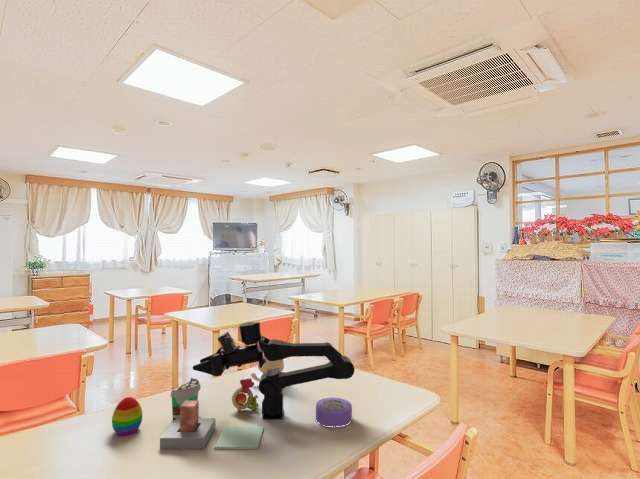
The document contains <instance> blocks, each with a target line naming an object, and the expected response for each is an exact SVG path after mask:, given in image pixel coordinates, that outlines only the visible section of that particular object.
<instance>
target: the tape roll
mask: <svg viewBox="0 0 640 479" xmlns="http://www.w3.org/2000/svg"><path fill="white" fill-rule="evenodd" d="M352 410H353V404H352V403H351V402H350V401H349V400H347V399H344V398H341V397H334V396H333V397H324V398H321V399H319V400H318V401H316V403H315V421H316V420H317V422H319V423H320V424H322V425H325V426H333V427H334V426H335V427H336V426H342V425H346V424H348V423H349V422H350V421H351V419H352V417H353V415H352V414H353V411H352ZM352 420H353V419H352ZM317 422H316V423H317ZM351 422H352V421H351ZM320 424H319V425H320Z"/></svg>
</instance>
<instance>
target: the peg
mask: <svg viewBox="0 0 640 479" xmlns="http://www.w3.org/2000/svg"><path fill="white" fill-rule="evenodd" d="M199 403H200V402H199V400H198V401H184V403H183V404H182V405H181V406H180V432H196V431H197V429H198V418H199V414H200V413H199V406H200V404H199Z"/></svg>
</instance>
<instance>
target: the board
mask: <svg viewBox="0 0 640 479" xmlns="http://www.w3.org/2000/svg"><path fill="white" fill-rule="evenodd" d="M264 428H265V426H264V425H224V426H223V429H222V430H221V433H220V435H219V437H218V439H217V441H216V443H215V445H214V448H213V449H214V450H258V449H259V448H260V447H259V446H260V442H261V439H262V435H263V432H264Z"/></svg>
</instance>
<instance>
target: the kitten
mask: <svg viewBox="0 0 640 479" xmlns="http://www.w3.org/2000/svg"><path fill="white" fill-rule="evenodd" d="M259 349H260V348H259ZM262 352H263V351H262ZM263 357H264V358H265V356H264V352H263ZM265 359H266V358H265ZM284 363H285V362H284V359H282V360H277V361H269V360H267V359H266V362H265V363H264V364H263V366H262V368H260V367H259V362H257V368H258V369H257V370H259V371H260V373H262V374H263V373H265V372H267V370H268V369H269V370H273V369H276V368H279V372H283V370H284V367H285V364H284ZM250 377H251V379H253V380H255V381H256V382H258V383H259V382H260V378H261V377H260V378H259V377H258V376H257V374H256V372H251V373H250Z"/></svg>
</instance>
